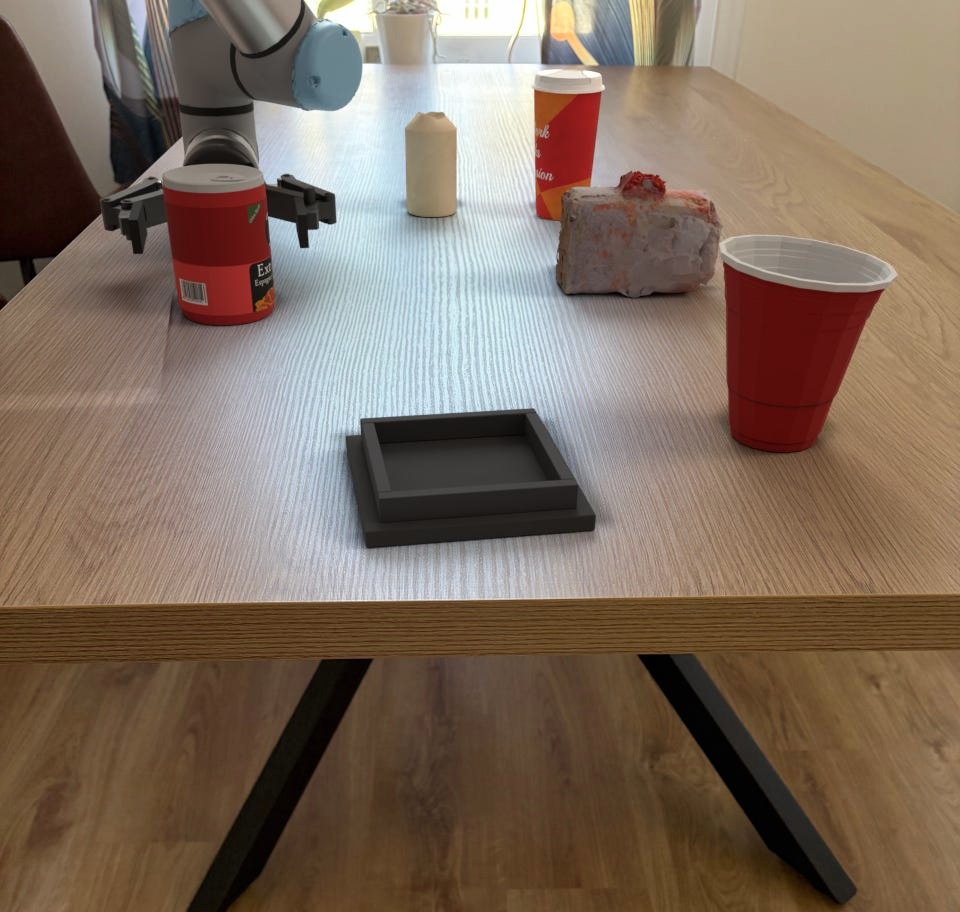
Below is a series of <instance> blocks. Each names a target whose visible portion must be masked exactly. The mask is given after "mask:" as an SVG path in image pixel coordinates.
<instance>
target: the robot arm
mask: <svg viewBox="0 0 960 912" xmlns="http://www.w3.org/2000/svg"><path fill="white" fill-rule="evenodd" d="M166 1H167V2H166V3H167V15H168V28H169V29H168V31H167V35H168V39H169V41H170V47H171V55H172V61H173V68H174V76H175V83H176V91H177V97H178V107H179V110H178V111H179V121H180V129H181V136H182V137H181V138H182V143H183V151H184V152H183V153H184V154H183V155H184V156H183V161H182V167H183V166H190V165H200V164H235V165H243V166H249V167H253V168H256V169H258V170H260V157H259V156H260V154H259V146H258V141H257V130H256V119H255V106H254V105H255V104H254V101H257V102H265V103H269V104H270V103H271V104H275V105H281V106H285V107H290V108H291V107H292V108H296V109H301V110H302V111H306V112H310V111H323V112H336V111H340V110H341V109H343V108H345V107H346V106H348V105H349V104H350V103H351V102H352V100H353V98H354V97H355V96H356V94H357V91H358V90H359V87H360V85H361V81H362V77H363V66H364V65H363V57H362V56H363V55H362V52H361V48H360V44H359V42H358V40H357V37H356V36H355V35H354V34H353V33H352V31H351V30H350V29H348V28H347V27H346V26H344V25H343V24H341V23H337V22H334V21H333V20H330V19H328V18H322V19H319V18H318V17H316V15H315V14H314V12H313V11H312V9H311V8H310V6H309V5H308V4H307V2H306V1H305V0H166ZM162 182H163V180H159V178H158V177H156V176H153V175H151V176H148V177H145V178H143V180H142V181H141V182H140V183H137V184H135V185H132V186H130V187H128V188H125V189H123V190H120V191H118V192H116V193H113V194H110V195H108V196H105V197H103V198H100V199H99V204H100V210H101V217H102V223H103V228H104V230H105V231H107V232H115V231H117V230H120V235H122V236H124V237H125V238H126V241H129V242H130V241H131V248H132V254H133V255H143V254H144V251H145V246H146V243H147V237H148V229H149V228H152V227H156V226H159V225H161V224H166V223H167V217H166V210H165V203H164V193H163V186H162ZM265 190H266V198H267V210H268V218H273V219H276V220H280V221H284V222H289V223H292V224H295V228H296V234H297V240H298V244H299V248H300V249H309V248H310V241H309V239H310V238H309V231H317V230H319V229H320V223H322V224H326V225H329V226H331V225H335V224H337V203H336V193H334V192H331V191H329V190H326V189H323V188H321V187H318V186H315V185H313V184H310V183H307V182H304V181H302V180H299V179H297V178H296V177H295V175H293V174H290V173H283V174H281V175H280V177H278V178H276V183H267V182H266V181H265Z"/></svg>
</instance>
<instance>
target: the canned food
mask: <svg viewBox="0 0 960 912" xmlns="http://www.w3.org/2000/svg"><path fill="white" fill-rule="evenodd" d="M264 177H265V176H264V172H263V171H262V170H261V169H259V170H258V169H256V168H253V167H249V166H243V165H235V164H200V165H190V166H183V165H182V166H179V167H175V168H171V169H168V170H167V171H165V172H163V173H162V175H161V181H162V186H163V193H164V203H165V210H166V217H167V222H166V223H167V230H168V238H169V244H170V245H169V246H170V251H171V259H172V265H173V266H172V267H173V273H174V278H175V279H174V280H175V286H176V294H177V300H178V306H179V308H180V311H181V313H182V314H183V316H184V317H185V318H186V319H188V320H189V321H192V322H195V323H199V324H204V325H211V326H236V325H243V324H249V323H254V322H257V321H260V320H264V319H265V318H267V317H268V316H270V315H272V313H273V312H274V307H275V303H276V296H275V295H276V293H275V284H274V271H273V259H272V249H271V236H270V226H269V225H270V222H269V217H268V210H267V198H266V190H265V182H266V180H265V178H264Z"/></svg>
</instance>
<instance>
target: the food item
mask: <svg viewBox="0 0 960 912" xmlns="http://www.w3.org/2000/svg"><path fill="white" fill-rule="evenodd" d="M666 183H667V181H666V180H663V179H662V178H660V174H656V175H655V174H653V173H642V172H641V171H640V170H636V171H632V170H630V171H628V172H626V173H625V174H622V175H621V176H620V177H619V183H618V185H616V186H592V187H591V186H590V187H572V188H571V190H570V191H566V192H565V193H564V194H563V195H562V196H561V204H562V212H561V220H559V223H560V231H558V234H559V235H558V246H557V249H556V264H555V280H556V282H558V284H559V286H560V287H561V289H562V291H563V292H564V294H565V295H569V294H573V295H575V294H612V293H619V294H622V295H624V296H626V297H627V298H633V299H634V298H639V297H641V296H642V297H643V296H649V295H651V294H652V293H658V294H659V293H661V294H677V293H678V294H679V293H681V294H682V293H689V292H695V291H696V290H697V289H699V288H700V286H701V284H702V285H704V286H707V285H708V283H709V281H710V280H711V279H713V277H714V276H715V274H716V272H715V270H716V268H715V267H716V263H717V259H718V257H719V256H718V254H719V243H720V240H721V235H722V229H723V227H724V225H723V224H722V223H723V222H722V219H721V218H720V213H719V211H718V208H717V207H716V204H715V203H714V202H713V201H712V200H711V197H710V195H709V193H708V192H707V190H705V189H703V188H702V189H701V188H694V189H688V188H666V186H667V185H666ZM563 196H564V197H565V198H564V199H563V200H562V198H563Z"/></svg>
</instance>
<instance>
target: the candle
mask: <svg viewBox="0 0 960 912" xmlns="http://www.w3.org/2000/svg"><path fill="white" fill-rule="evenodd" d="M457 134H458V129H457V127H456V125H455V124H454V123H453V122H452V121H451V120H450V118H448V116H447V115H446V114H445V113H444V112H443V111H439V112H438V111H429V112H425V113H423V112H422V111H421V112H420V111H417V112H416V114H415V115H414V117H413V118H412V119H411V120H410V121H409V122H408V123H407V124H406V126H405V127H404V146H405V147H404V149H405V193H406V197H405V199H406V201H405V202H406V211H407V213H408V214H410V215H412V216H417V217H421V218H422V217H423V218H440V217H448V216H451V215H454V214H456V212H457V201H458V200H457V191H458V187H457V185H458V184H457V173H458V171H457V170H458V169H457V167H458V166H457V163H458V161H457V159H458V158H457V156H458V155H457V154H458V152H457V151H458V148H457V147H458V146H457V145H458V141H457V140H458V135H457Z"/></svg>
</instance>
